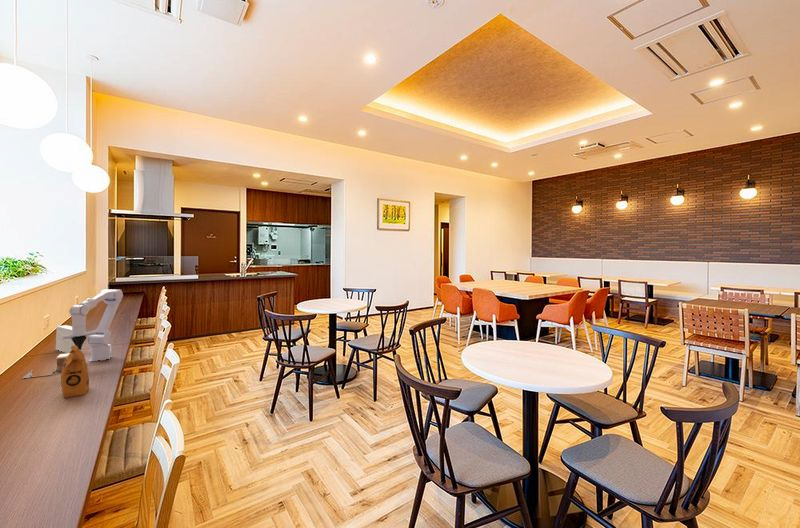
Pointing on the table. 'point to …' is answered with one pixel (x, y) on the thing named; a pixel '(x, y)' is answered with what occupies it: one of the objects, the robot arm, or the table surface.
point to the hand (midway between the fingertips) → (78, 349)
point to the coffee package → (74, 374)
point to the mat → (34, 376)
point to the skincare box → (64, 344)
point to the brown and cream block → (61, 361)
